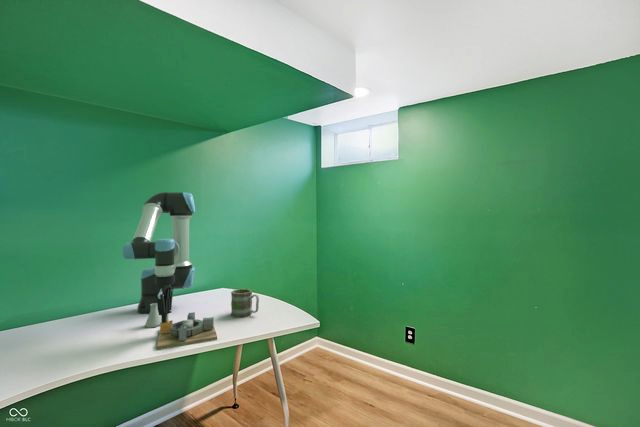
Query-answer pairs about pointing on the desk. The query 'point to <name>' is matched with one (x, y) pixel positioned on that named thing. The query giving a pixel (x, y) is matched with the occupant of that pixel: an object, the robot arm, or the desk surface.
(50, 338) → the desk surface
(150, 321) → the flask
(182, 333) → the ring nut
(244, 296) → the mug
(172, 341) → the board
